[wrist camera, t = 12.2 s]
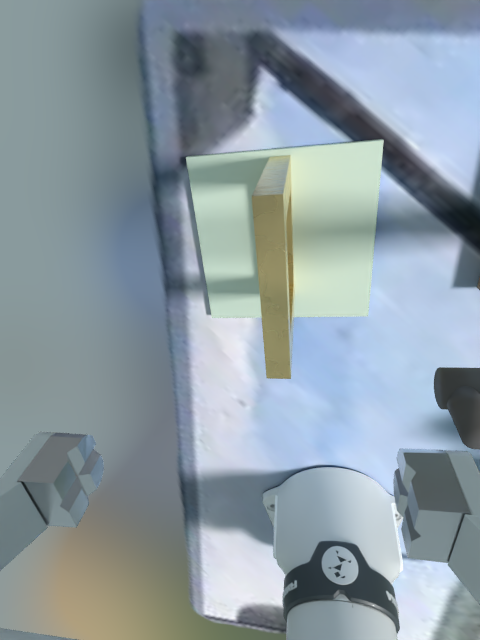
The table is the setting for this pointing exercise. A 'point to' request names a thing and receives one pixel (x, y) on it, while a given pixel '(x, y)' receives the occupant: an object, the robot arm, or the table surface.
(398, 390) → the table surface
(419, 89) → the table surface
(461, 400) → the hook stand
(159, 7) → the table surface
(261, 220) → the yellow picture frame
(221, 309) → the sage mat
